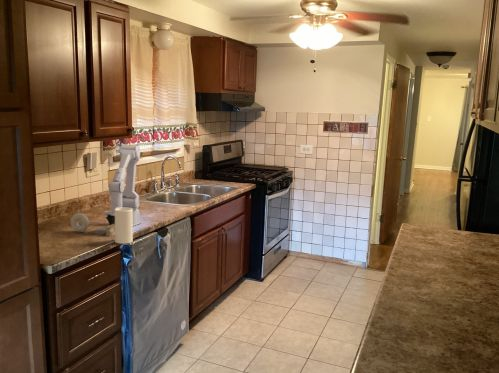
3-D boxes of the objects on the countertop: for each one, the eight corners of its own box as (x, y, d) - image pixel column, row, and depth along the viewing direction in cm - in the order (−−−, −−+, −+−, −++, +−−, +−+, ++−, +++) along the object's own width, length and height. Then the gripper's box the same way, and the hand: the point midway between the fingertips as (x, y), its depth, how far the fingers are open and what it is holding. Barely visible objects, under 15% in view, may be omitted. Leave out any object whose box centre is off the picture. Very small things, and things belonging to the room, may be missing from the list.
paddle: (123, 229, 240) (123, 220, 239) (127, 230, 239) (127, 221, 238) (106, 235, 227) (105, 226, 226) (110, 236, 226) (109, 226, 225)
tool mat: (112, 225, 247) (112, 224, 247) (125, 227, 244) (125, 226, 244) (89, 232, 231) (89, 231, 231) (103, 235, 227) (103, 234, 227)
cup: (126, 238, 223) (125, 206, 221) (136, 241, 218) (136, 209, 216) (111, 241, 217) (111, 208, 215) (121, 244, 212) (121, 211, 210)
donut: (90, 232, 232) (90, 213, 231) (86, 233, 229) (86, 214, 227) (73, 230, 234) (73, 211, 233) (69, 231, 231) (69, 212, 230)
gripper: (100, 204, 229) (100, 229, 231) (123, 207, 224) (123, 233, 226) (109, 201, 236) (109, 227, 238) (132, 204, 230) (132, 230, 232)
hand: (116, 230), depth 232 cm, fingers open, 5 cm apart
